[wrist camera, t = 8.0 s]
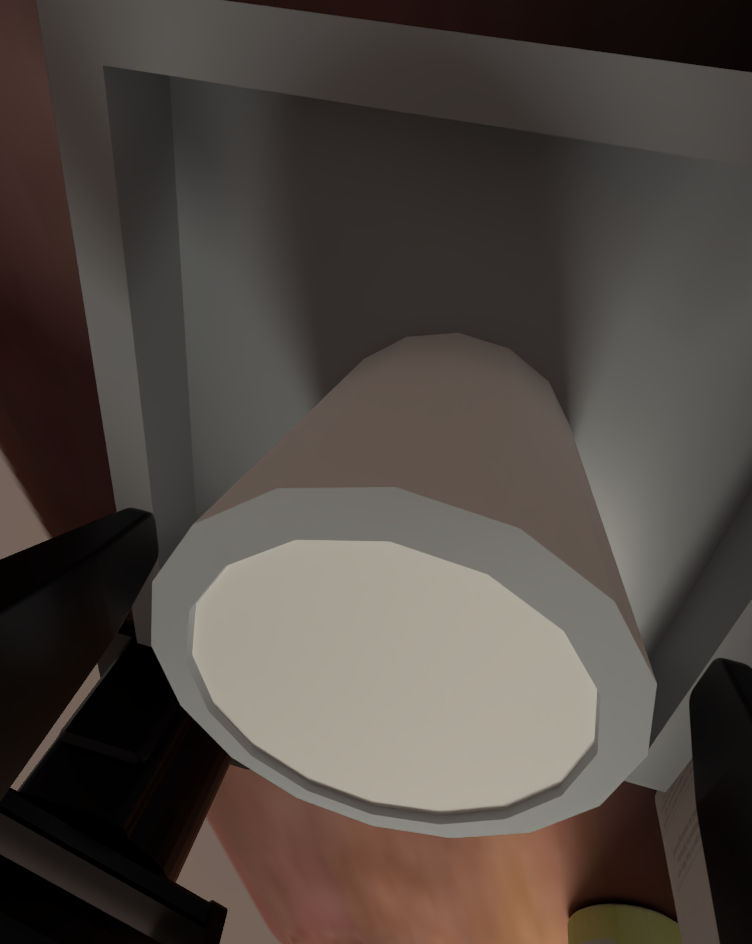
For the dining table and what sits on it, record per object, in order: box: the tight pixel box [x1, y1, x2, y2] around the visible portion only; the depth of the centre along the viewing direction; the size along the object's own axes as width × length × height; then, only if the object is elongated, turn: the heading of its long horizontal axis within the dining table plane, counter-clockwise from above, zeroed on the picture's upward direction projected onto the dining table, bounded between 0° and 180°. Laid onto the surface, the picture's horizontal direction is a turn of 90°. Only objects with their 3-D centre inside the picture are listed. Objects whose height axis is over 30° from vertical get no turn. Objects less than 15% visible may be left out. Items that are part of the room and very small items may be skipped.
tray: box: [36, 0, 752, 793], centre depth 13 cm, size 15×15×3 cm
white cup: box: [151, 333, 657, 838], centre depth 11 cm, size 7×7×7 cm
